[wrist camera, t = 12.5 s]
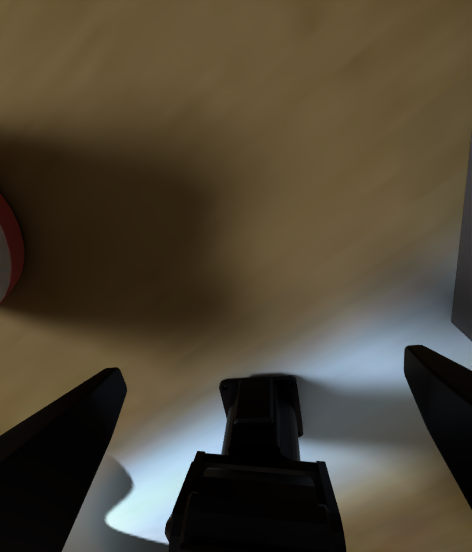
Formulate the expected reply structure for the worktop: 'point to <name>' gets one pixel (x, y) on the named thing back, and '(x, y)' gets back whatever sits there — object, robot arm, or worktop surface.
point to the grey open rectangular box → (465, 265)
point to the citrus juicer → (9, 250)
